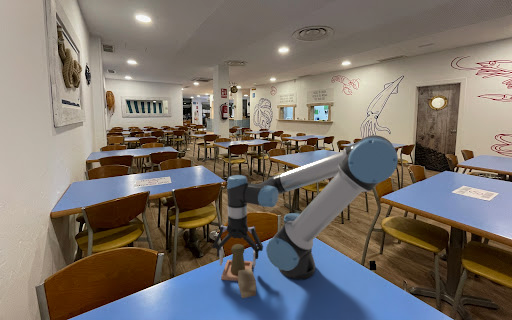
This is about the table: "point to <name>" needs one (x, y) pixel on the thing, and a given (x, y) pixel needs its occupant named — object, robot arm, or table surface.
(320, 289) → the table surface
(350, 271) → the table surface
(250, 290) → the oak block
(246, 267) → the terracotta dish
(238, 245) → the cork
